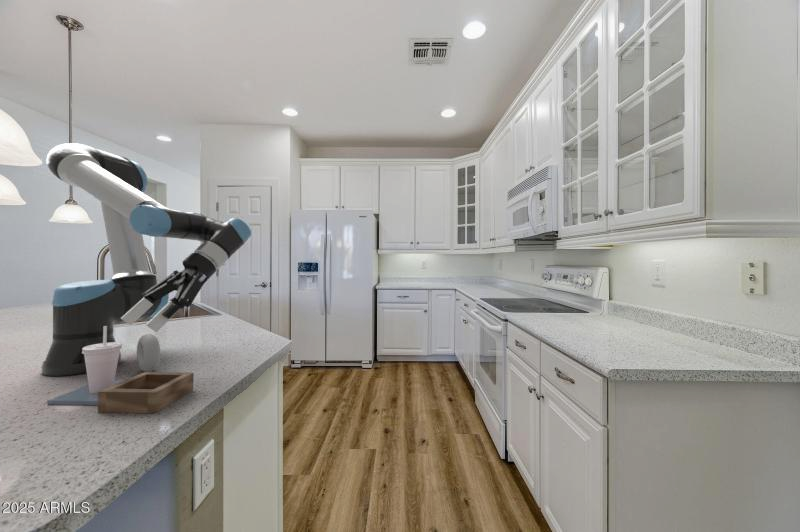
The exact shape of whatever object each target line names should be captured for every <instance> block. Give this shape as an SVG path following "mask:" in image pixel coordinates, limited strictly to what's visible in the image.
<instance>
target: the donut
mask: <svg viewBox="0 0 800 532" xmlns="http://www.w3.org/2000/svg"><path fill="white" fill-rule="evenodd" d="M136 356H137V357H136V358H137V363H138V367H139V368H140V370H141V371H143V373H144V372H155V370H156V369H157V368H158V367H159V365H160V363H161V356H162V355H161V345H160V341H159V340H158V338H157V336H156V335H155V334H152V333H146V334H143V335H142V336H141V337H139V339H138V341H137V345H136Z"/></svg>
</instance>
